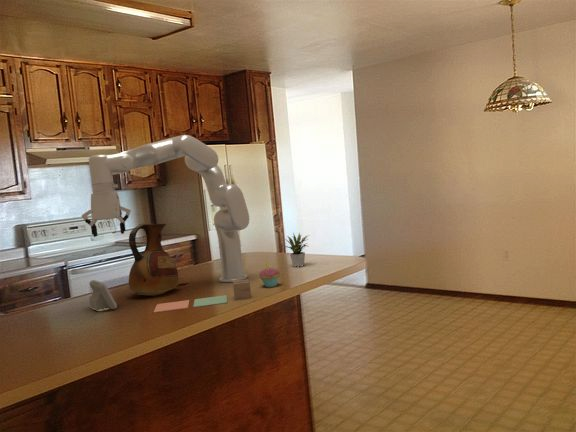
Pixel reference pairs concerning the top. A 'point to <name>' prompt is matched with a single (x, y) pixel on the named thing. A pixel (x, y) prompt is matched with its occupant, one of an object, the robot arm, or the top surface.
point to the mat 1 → (171, 306)
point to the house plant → (297, 250)
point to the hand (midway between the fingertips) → (109, 234)
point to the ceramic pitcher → (151, 264)
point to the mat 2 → (210, 301)
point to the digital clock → (101, 296)
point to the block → (242, 289)
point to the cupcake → (269, 276)
